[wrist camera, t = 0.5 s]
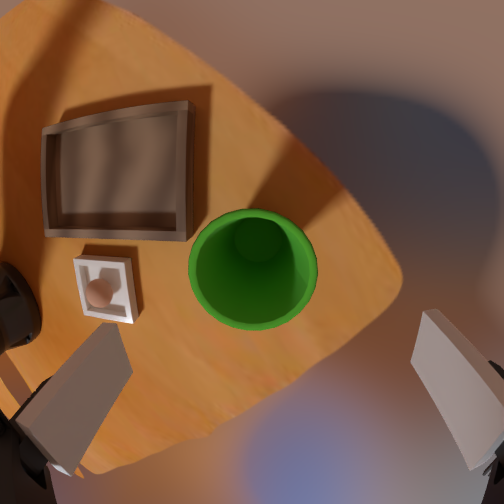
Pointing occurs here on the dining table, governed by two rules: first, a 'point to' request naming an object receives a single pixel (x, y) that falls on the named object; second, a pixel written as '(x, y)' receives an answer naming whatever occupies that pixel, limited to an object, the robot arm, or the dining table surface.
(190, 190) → the tray
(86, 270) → the dish
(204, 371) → the dining table surface
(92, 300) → the ball
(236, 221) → the cup
